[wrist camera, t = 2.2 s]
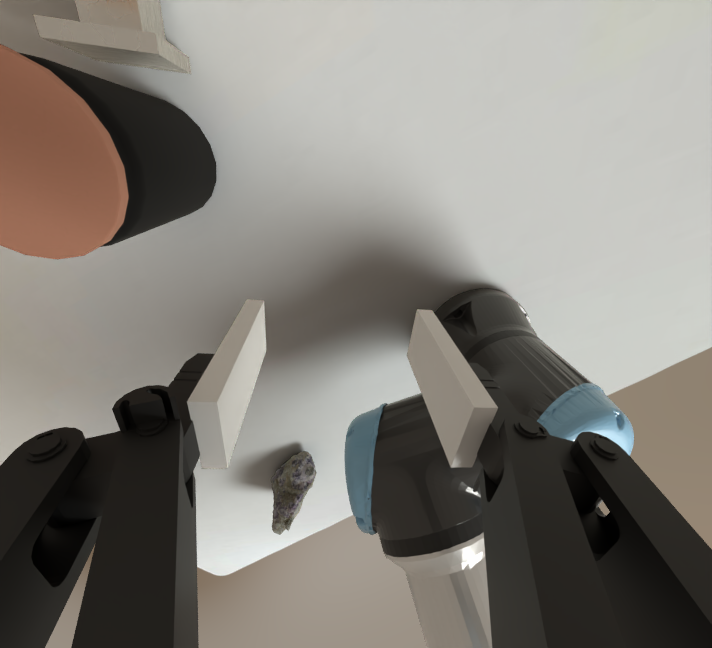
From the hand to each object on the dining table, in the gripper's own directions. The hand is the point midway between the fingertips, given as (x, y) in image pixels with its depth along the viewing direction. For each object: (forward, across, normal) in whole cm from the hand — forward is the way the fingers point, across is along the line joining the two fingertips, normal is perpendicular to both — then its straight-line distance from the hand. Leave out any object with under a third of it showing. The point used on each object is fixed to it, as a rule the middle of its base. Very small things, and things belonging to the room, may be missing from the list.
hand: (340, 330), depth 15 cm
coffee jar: (+25, +18, -5) cm, 31 cm away
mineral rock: (+25, +4, +46) cm, 53 cm away
